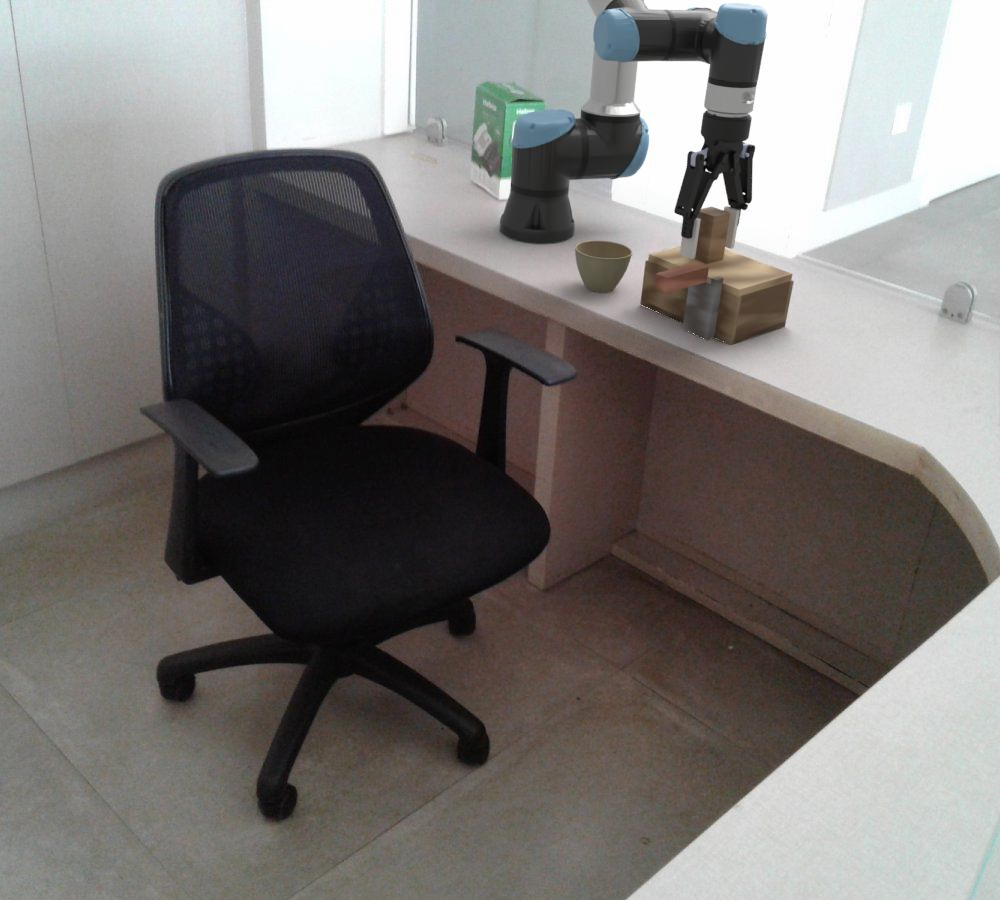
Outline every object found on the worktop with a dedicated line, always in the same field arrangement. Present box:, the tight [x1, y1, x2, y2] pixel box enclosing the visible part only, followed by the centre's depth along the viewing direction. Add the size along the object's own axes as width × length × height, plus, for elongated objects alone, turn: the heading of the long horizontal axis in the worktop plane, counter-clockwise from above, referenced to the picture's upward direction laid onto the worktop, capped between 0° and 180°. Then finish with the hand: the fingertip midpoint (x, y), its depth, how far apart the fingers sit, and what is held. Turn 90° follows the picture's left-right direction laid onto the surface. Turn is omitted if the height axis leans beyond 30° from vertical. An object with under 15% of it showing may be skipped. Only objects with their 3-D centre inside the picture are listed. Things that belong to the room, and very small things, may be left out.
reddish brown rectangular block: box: [654, 262, 709, 294], centre depth 162 cm, size 2×10×2 cm, turn 129°
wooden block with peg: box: [647, 206, 793, 297], centre depth 171 cm, size 19×13×9 cm
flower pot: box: [574, 239, 633, 293], centre depth 185 cm, size 10×10×7 cm
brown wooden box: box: [640, 259, 795, 346], centre depth 174 cm, size 20×16×10 cm
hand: (707, 251), depth 174 cm, fingers open, 9 cm apart
